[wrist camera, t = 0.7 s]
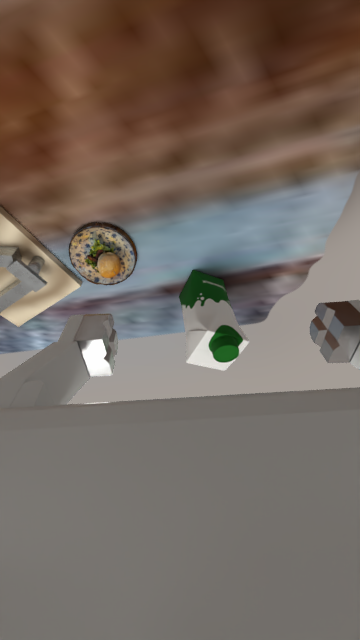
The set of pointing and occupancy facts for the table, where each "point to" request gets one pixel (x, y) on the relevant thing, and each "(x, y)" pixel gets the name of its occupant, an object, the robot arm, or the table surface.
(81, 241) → the burger
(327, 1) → the table surface
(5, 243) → the board
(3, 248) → the tongs arm
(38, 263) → the tongs fixed
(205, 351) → the milk carton
